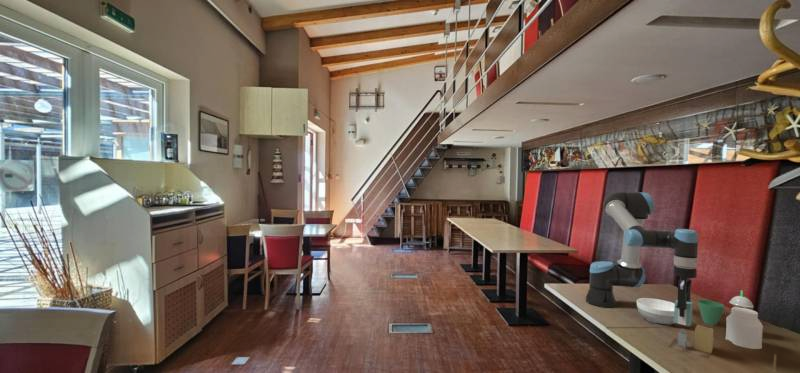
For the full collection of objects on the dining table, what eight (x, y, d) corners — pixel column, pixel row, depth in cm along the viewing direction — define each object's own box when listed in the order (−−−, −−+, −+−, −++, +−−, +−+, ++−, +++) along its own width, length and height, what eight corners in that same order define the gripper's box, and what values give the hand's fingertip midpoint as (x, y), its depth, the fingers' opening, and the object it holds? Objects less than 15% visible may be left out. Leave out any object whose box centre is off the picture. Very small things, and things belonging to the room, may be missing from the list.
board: (668, 349, 151) (668, 346, 151) (674, 340, 160) (674, 338, 160) (708, 360, 142) (708, 358, 142) (713, 351, 150) (713, 348, 150)
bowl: (684, 321, 182) (685, 304, 182) (680, 333, 168) (680, 314, 168) (639, 311, 195) (640, 295, 194) (632, 321, 181) (633, 304, 181)
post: (677, 347, 151) (678, 329, 151) (679, 345, 153) (679, 327, 153) (685, 349, 149) (686, 331, 149) (686, 347, 151) (687, 329, 151)
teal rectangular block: (673, 322, 151) (674, 302, 151) (676, 319, 155) (677, 299, 154) (689, 326, 147) (690, 305, 147) (692, 323, 151) (692, 302, 151)
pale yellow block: (694, 348, 150) (695, 328, 150) (696, 345, 153) (697, 324, 153) (710, 353, 146) (711, 332, 146) (712, 349, 150) (713, 328, 149)
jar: (766, 352, 150) (767, 316, 149) (738, 349, 152) (739, 314, 152) (748, 340, 161) (749, 307, 161) (722, 337, 163) (723, 304, 163)
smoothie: (747, 338, 163) (749, 294, 163) (724, 331, 171) (726, 289, 170) (755, 334, 167) (757, 291, 167) (732, 328, 175) (734, 286, 174)
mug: (726, 328, 174) (727, 308, 174) (700, 324, 178) (701, 304, 178) (716, 318, 187) (717, 299, 187) (692, 314, 191) (693, 296, 191)
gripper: (692, 272, 141) (690, 331, 142) (700, 265, 154) (698, 319, 154) (669, 268, 147) (667, 325, 147) (678, 262, 159) (676, 314, 160)
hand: (683, 322), depth 151 cm, fingers closed on teal rectangular block, 5 cm apart
